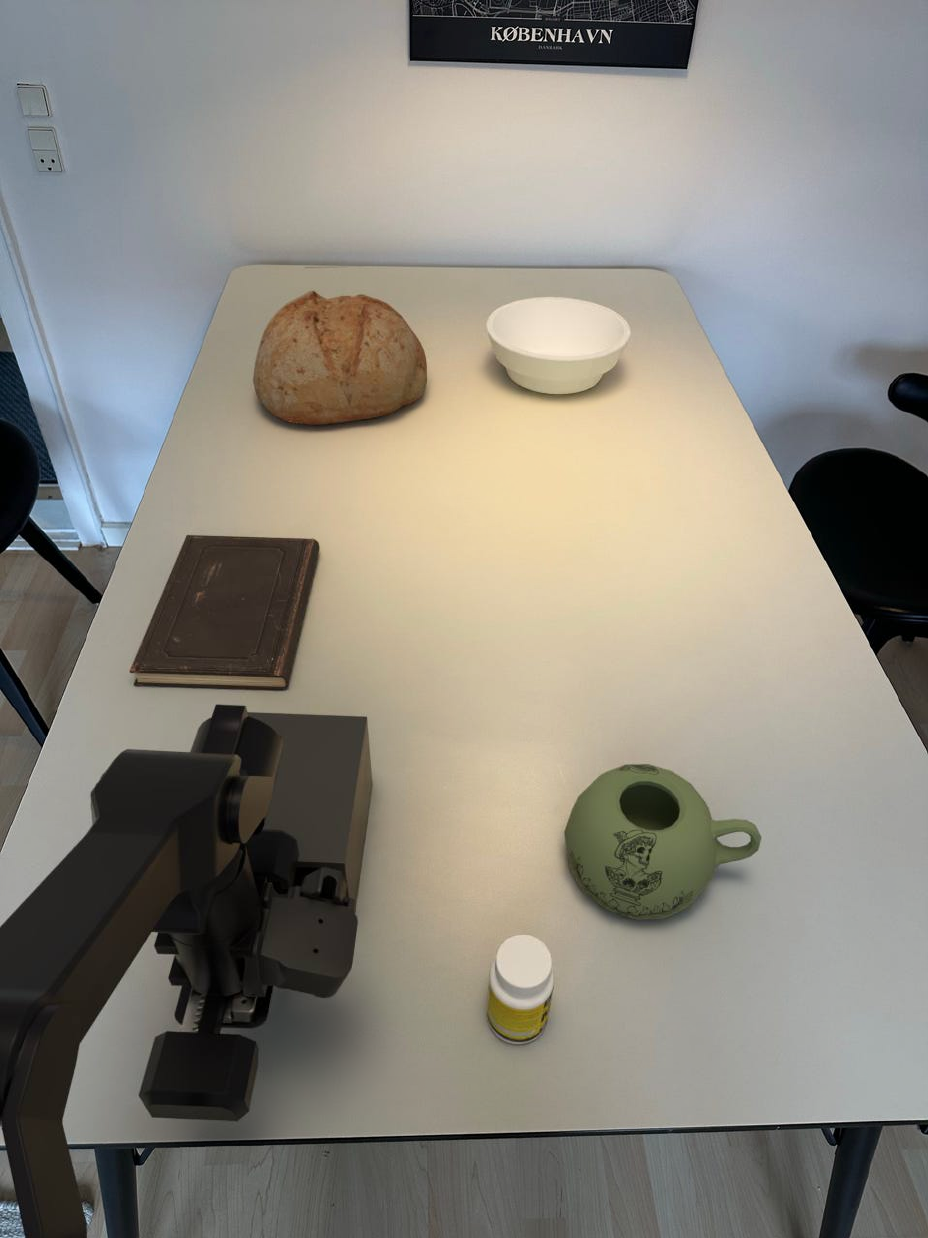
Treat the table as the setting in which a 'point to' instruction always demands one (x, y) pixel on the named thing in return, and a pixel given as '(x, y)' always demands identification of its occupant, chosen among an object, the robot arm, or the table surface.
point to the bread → (338, 360)
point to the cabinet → (323, 790)
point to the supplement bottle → (520, 989)
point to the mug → (647, 842)
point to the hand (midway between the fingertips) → (246, 1015)
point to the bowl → (557, 342)
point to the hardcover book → (229, 614)
